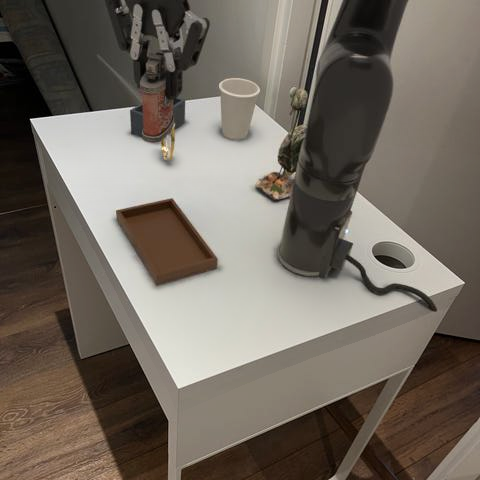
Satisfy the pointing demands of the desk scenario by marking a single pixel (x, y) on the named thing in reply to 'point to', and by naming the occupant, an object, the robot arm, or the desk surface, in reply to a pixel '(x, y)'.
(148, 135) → the lighter
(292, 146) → the plant with pod
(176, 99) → the box
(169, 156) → the ring
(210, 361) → the desk surface
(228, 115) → the dixie cup
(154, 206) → the tray
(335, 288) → the desk surface
